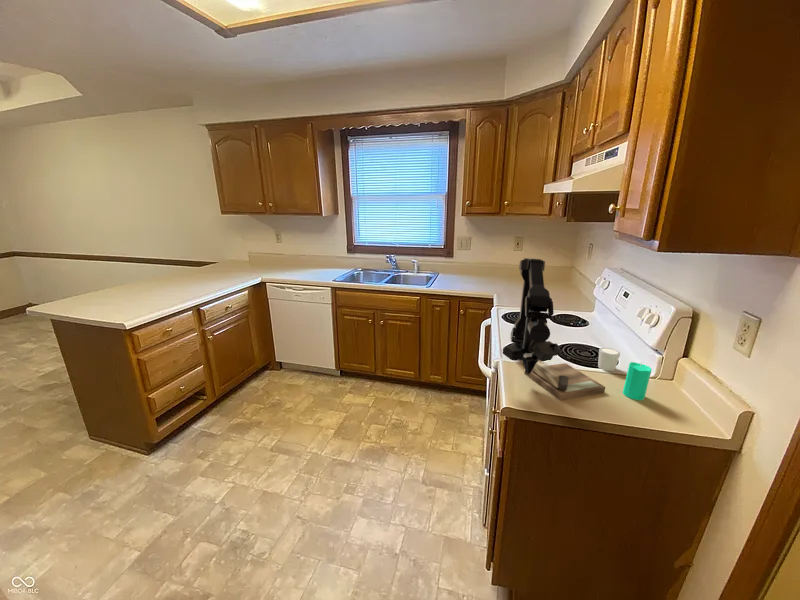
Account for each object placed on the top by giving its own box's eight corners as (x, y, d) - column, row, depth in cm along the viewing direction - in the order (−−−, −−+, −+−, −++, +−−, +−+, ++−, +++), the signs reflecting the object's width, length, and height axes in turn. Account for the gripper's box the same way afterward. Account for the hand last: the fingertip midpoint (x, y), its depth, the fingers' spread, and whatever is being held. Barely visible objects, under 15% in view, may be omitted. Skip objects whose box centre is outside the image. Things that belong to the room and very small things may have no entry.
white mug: (619, 372, 129) (623, 355, 128) (599, 370, 131) (603, 353, 129) (612, 364, 136) (616, 348, 134) (593, 362, 137) (596, 346, 135)
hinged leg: (569, 389, 112) (570, 379, 111) (561, 390, 111) (563, 380, 110) (538, 368, 126) (539, 359, 125) (531, 369, 125) (532, 360, 124)
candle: (618, 392, 116) (626, 359, 113) (630, 389, 118) (638, 356, 115) (636, 401, 111) (644, 367, 107) (648, 398, 113) (657, 364, 110)
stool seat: (524, 373, 127) (525, 368, 126) (564, 367, 132) (565, 362, 132) (560, 400, 110) (561, 394, 110) (604, 392, 116) (605, 386, 115)
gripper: (525, 342, 104) (519, 389, 109) (575, 337, 110) (567, 381, 114) (504, 329, 114) (499, 372, 119) (551, 325, 120) (544, 366, 124)
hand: (528, 373), depth 119 cm, fingers closed
